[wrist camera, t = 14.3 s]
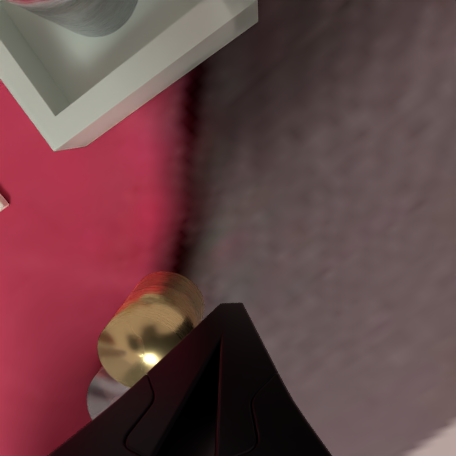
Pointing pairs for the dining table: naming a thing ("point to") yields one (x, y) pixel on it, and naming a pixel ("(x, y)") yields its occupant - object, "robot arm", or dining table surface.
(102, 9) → the glass jar
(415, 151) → the dining table surface
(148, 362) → the crank
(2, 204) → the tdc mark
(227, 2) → the tray
